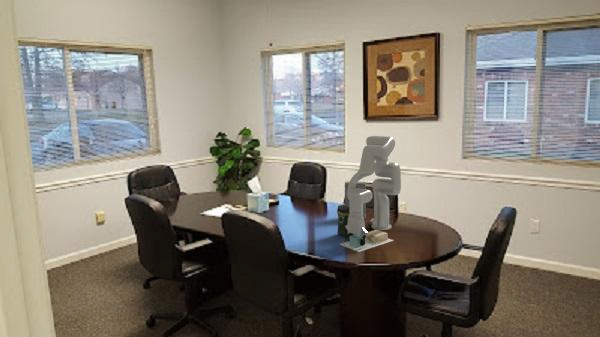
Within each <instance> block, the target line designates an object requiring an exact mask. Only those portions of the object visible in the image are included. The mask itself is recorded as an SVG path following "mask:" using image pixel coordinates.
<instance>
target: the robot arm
mask: <svg viewBox="0 0 600 337" xmlns="http://www.w3.org/2000/svg"><path fill="white" fill-rule="evenodd" d="M365 144H366V145H365V146H364V147H363V149H362V152H361V153H362V154H361V158H360V164H359V168H358V171H357V172H356V173H354V174H353V176H352V177H351V178H350V180H349V181H348V182H349V186H348V191H347V197H348V199H349V200H350V210H349V212H350V215H349V217H348V224H347V225H346V226H345V227H346V231H347V232H348V233H347V234H348V237H347V242H348V241H350V236H352V235H353V234H354V235H358V236H360V238H361V239H360V246H363V245H365V238H366V237H367V235H368V232H369V231H367V230H366V225H365V224H366V222H365V219H364V217H363V203H365V204H367V203H370V202H371V201H372V199H373V217H372V218H371V219H369V221H370V222H371V223H372V224H371V225H370V226H371V228H372V229H374V230H379V231H388V230H391V229H392V228H393V227H392V224H391V223H390V199H389V197H388V196H389V195H390V196H398V195H399V194H400V193H401V189H402V186H401V185H402V179H401V178H402V177H401V176H402V174H401V173H402V172H401V166H400V164H399V163H397V162H391V161H389V157H390V155H391V154H392V152H393V151H394V149H395V146H396V140H395V138H394V137H392V136H382V135H381V136H380V135H370V136H367V138H366V139H365ZM373 174H374V175H375V176H376V177H378V178H376V179H374V180H373V181H372V184H371V186H372V190H370V189H367V188H365V189H359V188H355V186H356V184H357V182H360V180H362V179H364V178H366V177H369V176H372V175H373ZM379 177H380V178H379ZM362 236H363V237H362Z"/></svg>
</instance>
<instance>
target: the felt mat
mask: <svg viewBox="0 0 600 337" xmlns="http://www.w3.org/2000/svg"><path fill="white" fill-rule="evenodd" d="M394 241H395V240H394V239H390V238H388V240H386V241H383V242H379V243H374V242H371V241H369V240H366V238H365V245H364V246H361V247H358V248H355V247H353V246H350V241H348V240H347V241H346V242H342V243H339V245H341V246H342V247H345V248H348V249H350V250H352V251H355V252H357V253H360V252H363V251H366V250H369V249H372V248H375V247H378V246H381V245H384V244H387V243H390V242H394Z"/></svg>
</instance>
